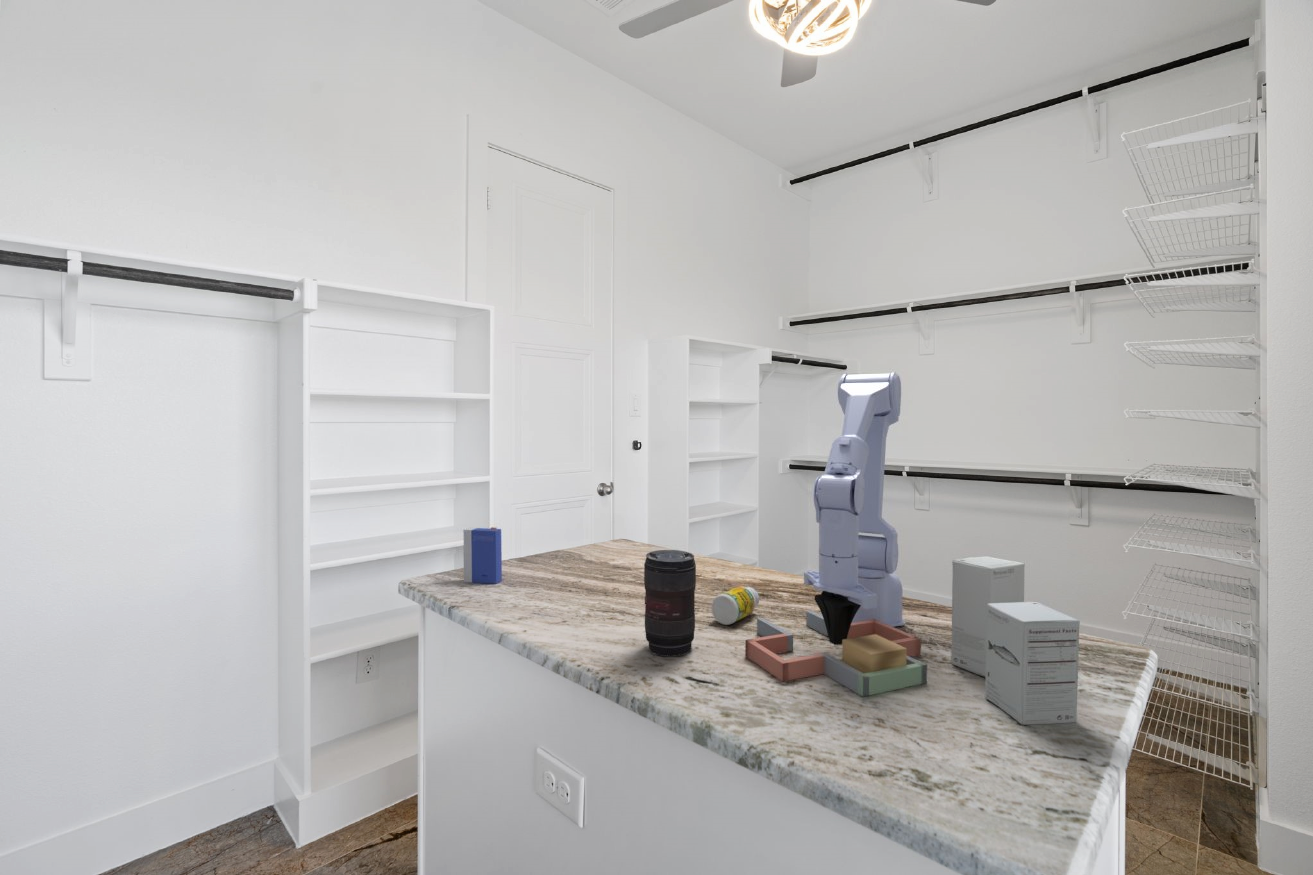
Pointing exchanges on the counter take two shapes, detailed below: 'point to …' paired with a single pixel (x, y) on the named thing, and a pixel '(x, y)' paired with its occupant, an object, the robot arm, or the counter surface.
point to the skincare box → (979, 604)
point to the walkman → (482, 555)
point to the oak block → (872, 653)
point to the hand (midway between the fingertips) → (837, 642)
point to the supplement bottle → (734, 604)
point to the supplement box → (1032, 662)
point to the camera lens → (669, 601)
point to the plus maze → (824, 663)
